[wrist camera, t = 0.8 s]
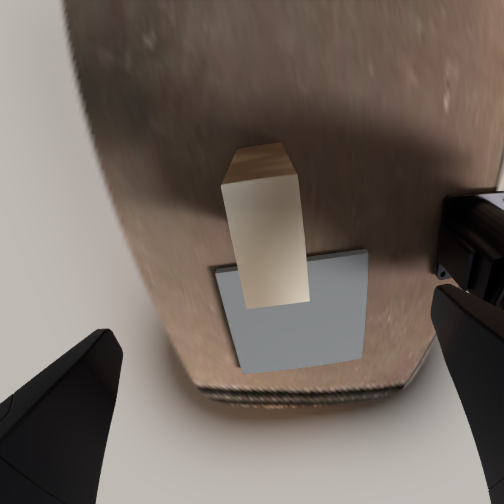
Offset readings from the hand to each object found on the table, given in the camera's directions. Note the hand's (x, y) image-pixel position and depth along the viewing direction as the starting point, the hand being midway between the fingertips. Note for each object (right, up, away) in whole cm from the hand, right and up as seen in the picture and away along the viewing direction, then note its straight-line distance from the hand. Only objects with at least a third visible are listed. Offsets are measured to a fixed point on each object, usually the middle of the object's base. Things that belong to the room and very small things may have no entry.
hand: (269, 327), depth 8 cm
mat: (+3, -3, +15) cm, 15 cm away
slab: (0, +6, +10) cm, 12 cm away
